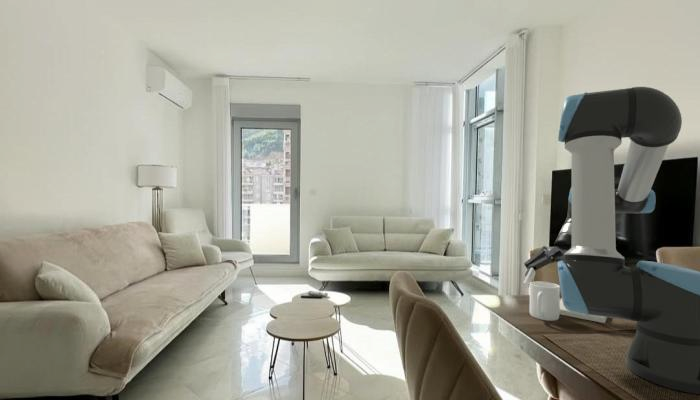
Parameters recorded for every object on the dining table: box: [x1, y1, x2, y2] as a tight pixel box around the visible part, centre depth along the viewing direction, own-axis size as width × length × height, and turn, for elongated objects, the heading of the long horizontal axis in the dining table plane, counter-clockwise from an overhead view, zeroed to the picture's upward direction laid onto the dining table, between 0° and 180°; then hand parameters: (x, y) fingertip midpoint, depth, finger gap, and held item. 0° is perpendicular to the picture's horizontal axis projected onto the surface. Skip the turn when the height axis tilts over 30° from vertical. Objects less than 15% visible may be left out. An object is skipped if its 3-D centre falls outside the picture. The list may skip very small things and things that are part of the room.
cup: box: [528, 281, 561, 322], centre depth 109 cm, size 8×12×10 cm
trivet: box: [559, 297, 608, 324], centre depth 115 cm, size 15×14×2 cm
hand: (546, 290), depth 111 cm, fingers open, 13 cm apart
